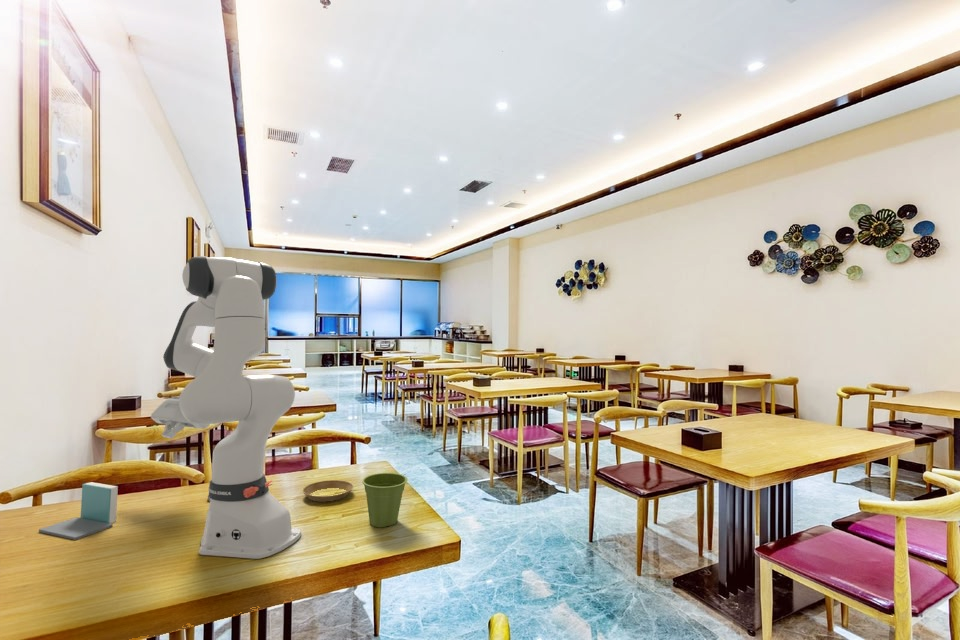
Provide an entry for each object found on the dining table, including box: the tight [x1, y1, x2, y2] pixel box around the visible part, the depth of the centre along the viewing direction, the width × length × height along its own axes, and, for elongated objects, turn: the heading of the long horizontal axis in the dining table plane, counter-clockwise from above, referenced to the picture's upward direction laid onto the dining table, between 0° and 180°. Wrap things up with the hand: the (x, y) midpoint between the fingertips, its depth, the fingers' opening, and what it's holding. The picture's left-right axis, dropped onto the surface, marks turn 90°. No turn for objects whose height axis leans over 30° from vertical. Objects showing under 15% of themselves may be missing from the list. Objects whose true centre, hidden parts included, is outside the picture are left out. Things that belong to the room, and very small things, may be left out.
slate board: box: [38, 516, 113, 541], centre depth 110 cm, size 13×8×1 cm, turn 73°
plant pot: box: [361, 472, 408, 528], centre depth 118 cm, size 12×12×11 cm
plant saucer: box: [302, 479, 354, 503], centre depth 137 cm, size 15×15×3 cm
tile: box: [80, 481, 119, 524], centre depth 116 cm, size 10×2×9 cm, turn 73°
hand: (166, 436), depth 133 cm, fingers closed
